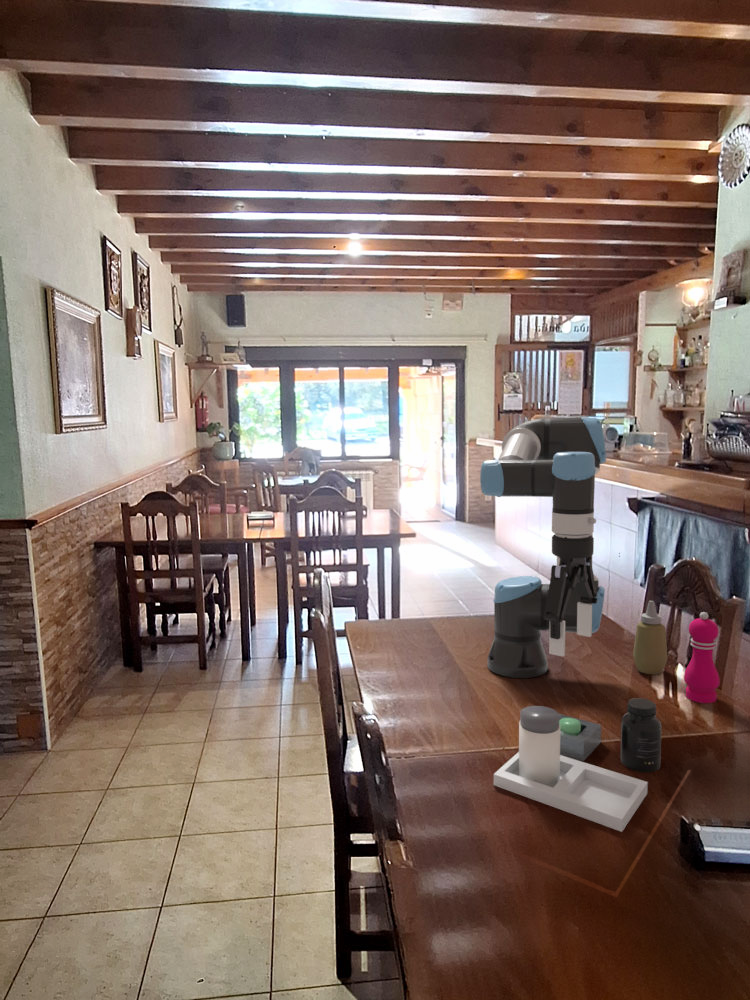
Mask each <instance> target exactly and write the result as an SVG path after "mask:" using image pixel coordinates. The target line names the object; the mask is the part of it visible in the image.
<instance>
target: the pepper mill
mask: <svg viewBox="0 0 750 1000" xmlns="http://www.w3.org/2000/svg"><path fill="white" fill-rule="evenodd" d="M719 633H720V632H719V628H718V625H717V623H716V622H714V621H713V620H711V619H709V614H708V612H705V611H703V612H700V614H699V617H698V618H694V619H693V620H692V621H691V622H690V623H689V625H688V634H689V635H690V637H691V638H690V646H692V656H691V659H690V661H689V663H688V665H687V667H686V668H685V671H684V675H683V680H684V682H685V684H686V685H687V686H686V688H685V696H686V698H687V699H688V700H690V701H693V702H695V703H700V704H712V703H715V702H716V701H717V697H718V696H717V691H716V689H718V687H720V683H721V682H720V676H719V672H718V669H717V668H716V666H715V663H714V658H713V657H714V656H713V653H714V649H715V648H716V639H717V638H718V636H719Z"/></svg>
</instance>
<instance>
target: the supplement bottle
mask: <svg viewBox="0 0 750 1000" xmlns="http://www.w3.org/2000/svg"><path fill="white" fill-rule="evenodd" d="M621 717H622V718H621V724H620V725H621V727H620V762H621V764H622V765H623V766H624V767H626V768H628V769H630V770H632V771H636V772H640V773H653V772H657V771H658V770H660V768H661V758H662V756H661V755H662V722H661V721H660V719H659V718H658V717H657V705H656V703H655V702H654V701H652V700H649V699H646V698H641V697H635V698H634V697H633V698H630V699H629V700H628V701H627V708H626V713H624V715H622V716H621Z"/></svg>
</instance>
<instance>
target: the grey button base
mask: <svg viewBox="0 0 750 1000" xmlns="http://www.w3.org/2000/svg"><path fill="white" fill-rule="evenodd" d="M562 718H573V719H577V720H578V721H580V722H581V733H580V734H579V735H578V736H576V735H573V734H569V733H566V732H562V731H560V755H562V756H565V757H568V758H572V759H575V760H578V761H581V762H585V760H586V759H587V758H588V757H589V756H590V755H591V754H592V752H594V751H595V750H596V748H597V747H598V746H599V745H600V744H601V743H602V724H599V723H595V722H591V721H589V720H584V719H581V718H577V717H573V716H569V715H566V714H563V713H559V721H560V719H562Z"/></svg>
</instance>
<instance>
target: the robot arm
mask: <svg viewBox="0 0 750 1000" xmlns="http://www.w3.org/2000/svg"><path fill="white" fill-rule="evenodd" d="M606 454H607V453H606V443H605V435H604V430H603V425H602V422H601V421H600V419H598V418H596V417H585V416H580V417H577V416H575V417H574V416H573V417H554V418H553V417H551V418H549V417H548V418H546V417H544V418H543V417H542V418H541V417H540V418H535V419H534V418H533V419H531V420H527V421H524V422H522V423H520V424H518V425H516V426H514V427H512V428H511V429H510V430H509V431H508V432H507V433H506V434H505V436H504V438H503V440H502V442H501V454H499V457H498V459H497V458H496V459H495V458H494V459H490V460H484V461H483V462H482V463H481V466H480V476H479V477H480V478H479V479H480V490H481V493H482V495H484V496H488V497H490V496H491V497H497V498H501V497H533V498H534V497H536V498H537V497H538V498H539V497H540V498H541V497H544V498H552V511H551V514H552V515H551V532H552V533H554V534H553V535H551V553H552V554H553V555H554V556H556V565H554V564H553V565H551V569H550V570H551V571H550V576H549V581H550V582H549V584H548V583H545V584H544V583H542V580H541V578H540V577H538V576H532V575H523V576H514V577H509V578H505V579H502V580H501V581H498V582H497V583H496V585H495V587H494V595H493V596H494V597H493V603H494V608H493V609H494V618H493V619H494V623H493V624H494V630H493V631H494V635H493V637H494V638H493V640H492V643H491V647H490V649H489V653H488V655H487V668H488V670H489V671H491V672H492V673H495V674H497V675H499V676H503V677H507V678H514V679H530V678H535V677H539V676H542V675H544V674H546V673H547V671H548V659H547V655H546V652H545V649H544V646H543V643H542V636H541V631H542V632H543V631H545V632H548V633H549V634H548V636H549V638H548V639H549V640H548V642H549V643H548V649H549V651H548V654H549V655H554V656H557V657H565V656H566V633H573V634H576V635H577V636H581V637H588V638H591V637H592V636H593V635H592V634H594V633H596V632H598V630H599V629H600V626H601V625H600V624H601V621H602V614H603V610H604V609H603V608H604V602H605V601H604V600H605V591H606V590H605V587H603V586H602V585H600V584H599V578H598V576H596V575H595V573H594V569H593V556H594V548H595V546H594V544H595V542H594V540H595V539H594V537H593V536H594V535H593V533H594V530H595V529H594V525H595V524H596V523H597V519H596V518H595V517H594V516H595V508H594V507H595V481H596V480H595V479H596V477H595V476H596V475H597V474H598V473H599V472H600V470H601V465H602V464H605V463H606V462H607V456H606ZM599 585H600V586H599Z"/></svg>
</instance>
